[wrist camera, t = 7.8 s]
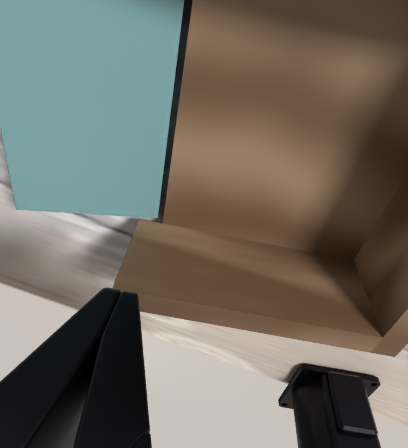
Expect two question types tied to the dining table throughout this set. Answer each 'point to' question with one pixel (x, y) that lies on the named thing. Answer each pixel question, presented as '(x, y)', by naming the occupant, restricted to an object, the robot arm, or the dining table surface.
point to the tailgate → (87, 102)
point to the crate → (287, 176)
